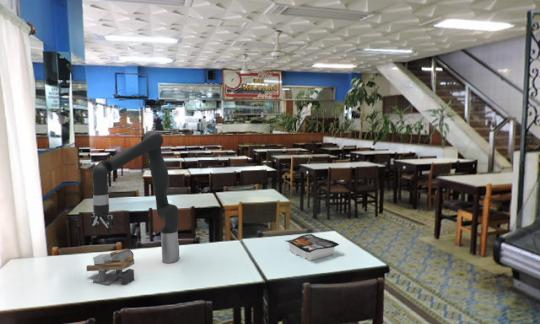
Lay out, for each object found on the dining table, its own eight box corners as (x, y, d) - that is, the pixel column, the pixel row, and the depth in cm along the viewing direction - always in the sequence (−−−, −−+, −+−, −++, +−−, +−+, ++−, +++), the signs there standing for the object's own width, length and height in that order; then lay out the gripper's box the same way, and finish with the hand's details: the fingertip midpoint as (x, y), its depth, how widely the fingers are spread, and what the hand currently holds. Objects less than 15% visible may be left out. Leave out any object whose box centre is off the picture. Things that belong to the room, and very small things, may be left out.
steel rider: (102, 263, 201) (100, 254, 201) (112, 263, 198) (110, 253, 198) (94, 267, 196) (92, 257, 196) (104, 266, 194) (102, 257, 193)
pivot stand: (114, 272, 205) (113, 259, 204) (140, 277, 198) (139, 264, 197) (93, 282, 192) (92, 269, 191) (119, 288, 185) (118, 274, 184)
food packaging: (283, 239, 233) (311, 233, 245) (283, 251, 234) (311, 244, 246) (310, 251, 212) (339, 243, 225) (310, 264, 213) (339, 255, 226)
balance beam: (99, 267, 204) (97, 257, 204) (135, 265, 194) (132, 255, 194) (87, 273, 197) (85, 262, 197) (123, 271, 187) (121, 260, 187)
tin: (132, 260, 221) (131, 246, 220) (134, 262, 219) (133, 248, 218) (106, 268, 210) (105, 253, 209) (108, 269, 208) (107, 254, 207)
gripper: (117, 202, 199) (118, 233, 200) (96, 200, 204) (97, 230, 206) (106, 205, 192) (107, 237, 193) (84, 203, 197) (86, 233, 199)
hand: (102, 233), depth 199 cm, fingers open, 8 cm apart
